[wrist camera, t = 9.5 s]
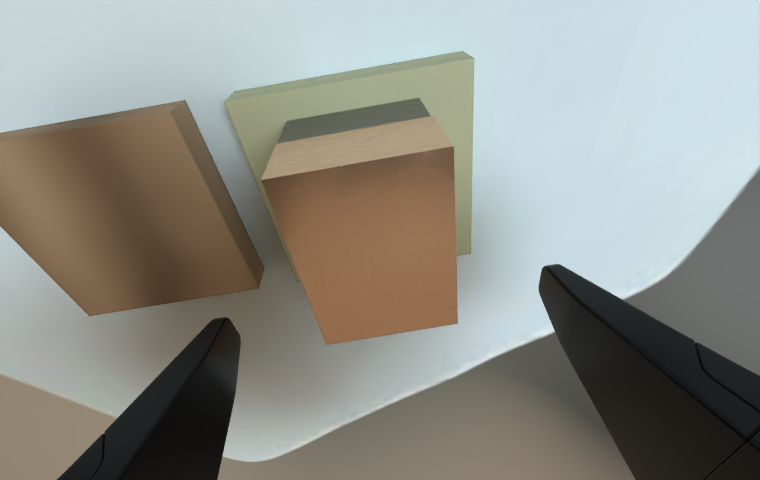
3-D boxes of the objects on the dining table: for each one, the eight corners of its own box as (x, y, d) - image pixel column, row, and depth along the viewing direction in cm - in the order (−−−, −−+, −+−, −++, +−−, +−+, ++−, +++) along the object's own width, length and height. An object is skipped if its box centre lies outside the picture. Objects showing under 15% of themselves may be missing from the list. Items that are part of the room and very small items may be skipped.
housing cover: (442, 277, 15) (457, 323, 13) (328, 296, 15) (326, 344, 13) (433, 115, 11) (453, 146, 9) (276, 143, 11) (260, 180, 9)
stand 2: (299, 263, 19) (297, 282, 18) (235, 91, 14) (224, 102, 12) (462, 236, 19) (470, 253, 18) (462, 51, 13) (474, 58, 12)
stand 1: (105, 295, 19) (89, 316, 18) (-35, 139, 14) (-71, 154, 13) (264, 268, 19) (258, 288, 18) (185, 100, 14) (169, 111, 12)
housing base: (430, 244, 17) (441, 279, 15) (330, 261, 17) (328, 298, 15) (419, 97, 13) (432, 118, 11) (287, 120, 13) (276, 146, 11)
